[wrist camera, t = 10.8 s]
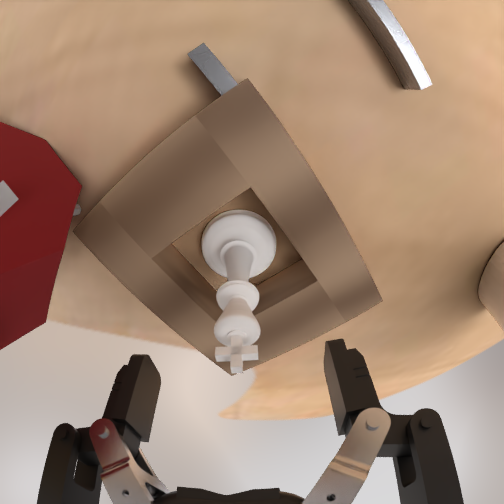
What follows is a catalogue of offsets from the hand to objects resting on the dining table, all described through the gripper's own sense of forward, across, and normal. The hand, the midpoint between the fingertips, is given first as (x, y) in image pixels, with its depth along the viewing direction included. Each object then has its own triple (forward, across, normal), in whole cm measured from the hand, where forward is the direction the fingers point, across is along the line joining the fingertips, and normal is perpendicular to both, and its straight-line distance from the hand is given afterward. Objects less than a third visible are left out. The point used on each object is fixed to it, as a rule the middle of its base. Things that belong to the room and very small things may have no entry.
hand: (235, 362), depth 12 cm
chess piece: (+9, 0, -1) cm, 9 cm away
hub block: (+9, 0, -1) cm, 9 cm away
